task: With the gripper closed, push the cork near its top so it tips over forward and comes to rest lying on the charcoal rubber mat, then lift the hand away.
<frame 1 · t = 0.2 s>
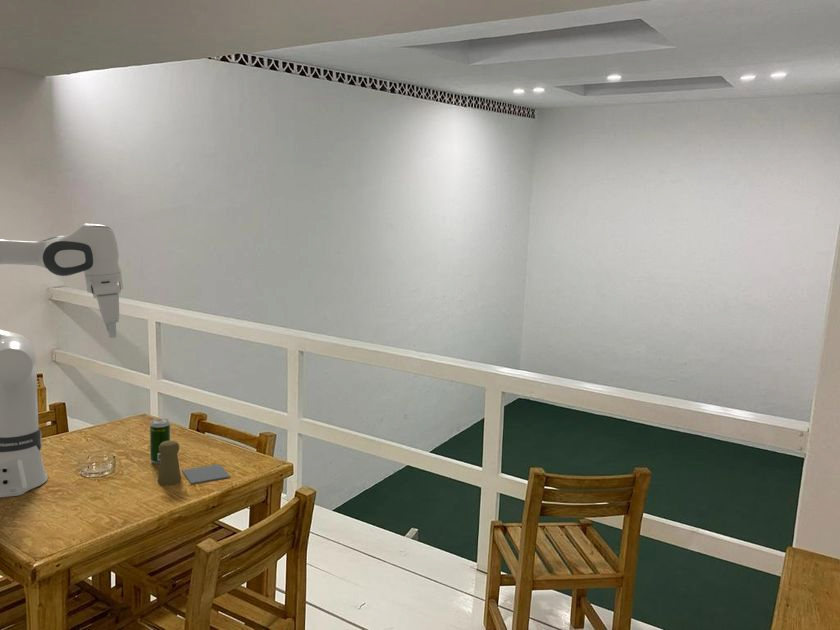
hand: (111, 334, 182), 38 cm above the table, tool pointing down, fingers open, 8 cm apart
beer can: (160, 461, 195), on the table
cork: (169, 481, 181), on the table
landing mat: (205, 474, 186), on the table
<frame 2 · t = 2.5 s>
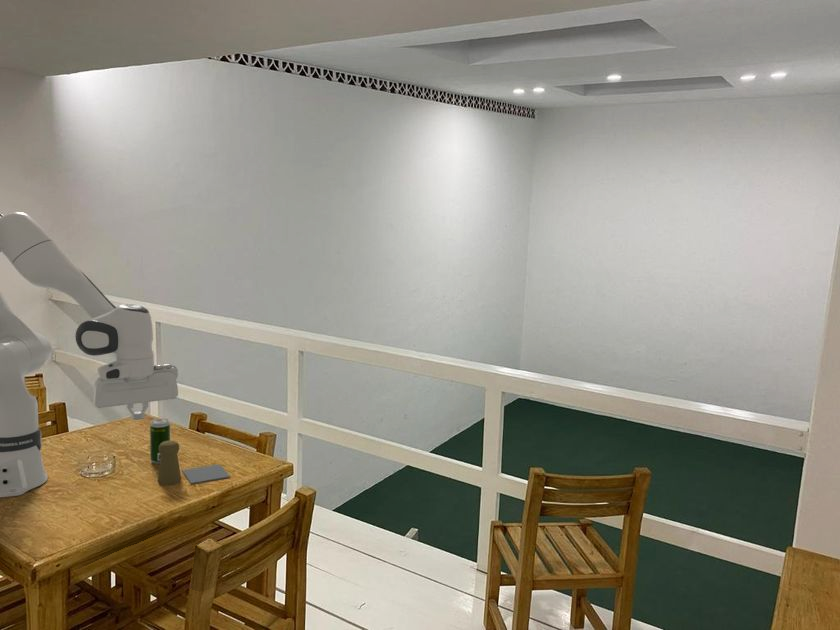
hand: (137, 419, 174), 18 cm above the table, tool pointing down, fingers closed
nothing on the table moved.
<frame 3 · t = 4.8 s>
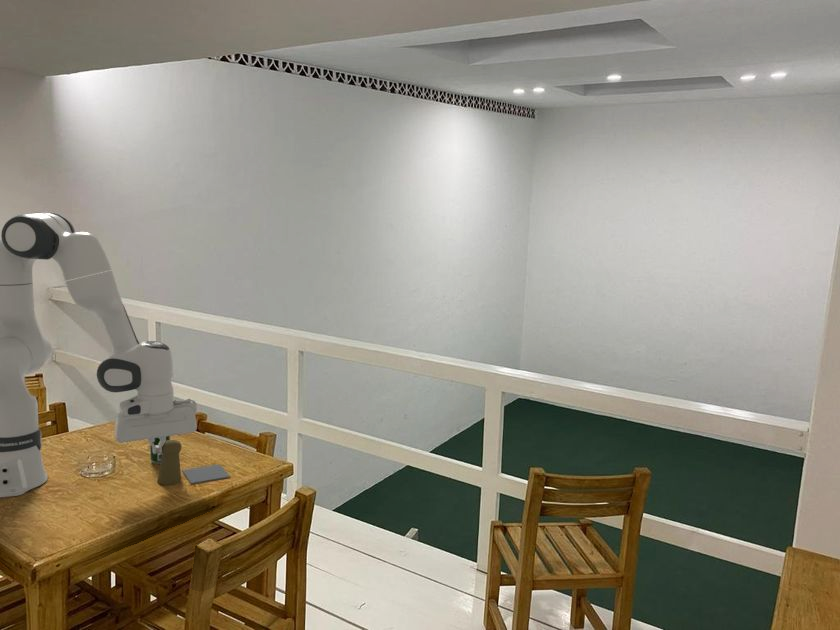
hand: (157, 452, 178), 8 cm above the table, tool pointing down, fingers closed
cork: (169, 481, 181), on the table, touching gripper
everything else where it was.
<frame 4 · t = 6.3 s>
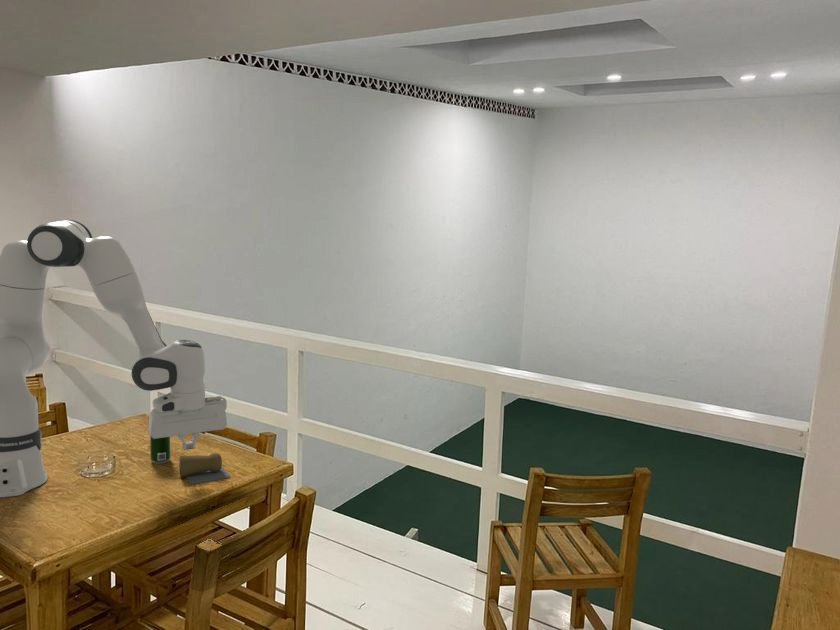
hand: (188, 448, 183), 8 cm above the table, tool pointing down, fingers closed
cork: (179, 466, 184), point 3 cm above the table, touching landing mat
everything else where it was.
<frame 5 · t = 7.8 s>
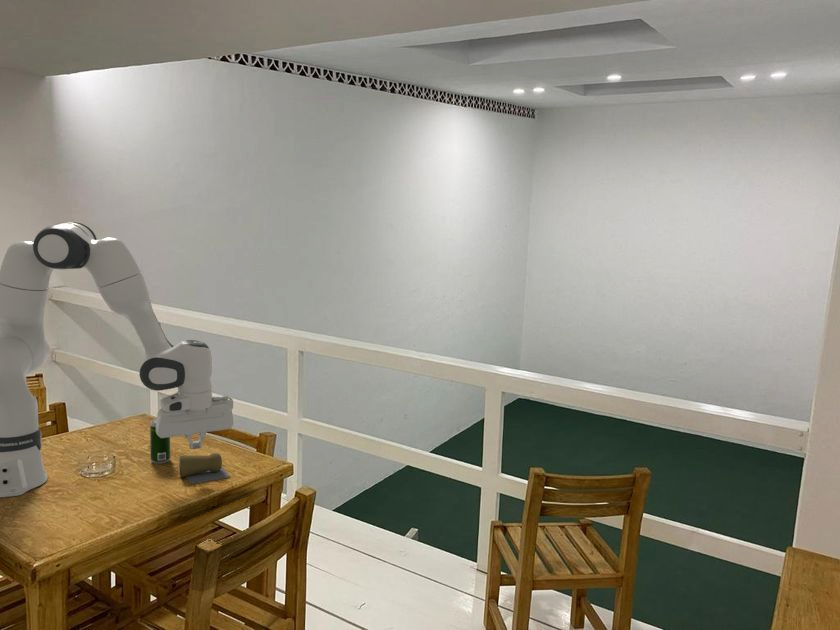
hand: (195, 448, 184), 8 cm above the table, tool pointing down, fingers closed
nothing on the table moved.
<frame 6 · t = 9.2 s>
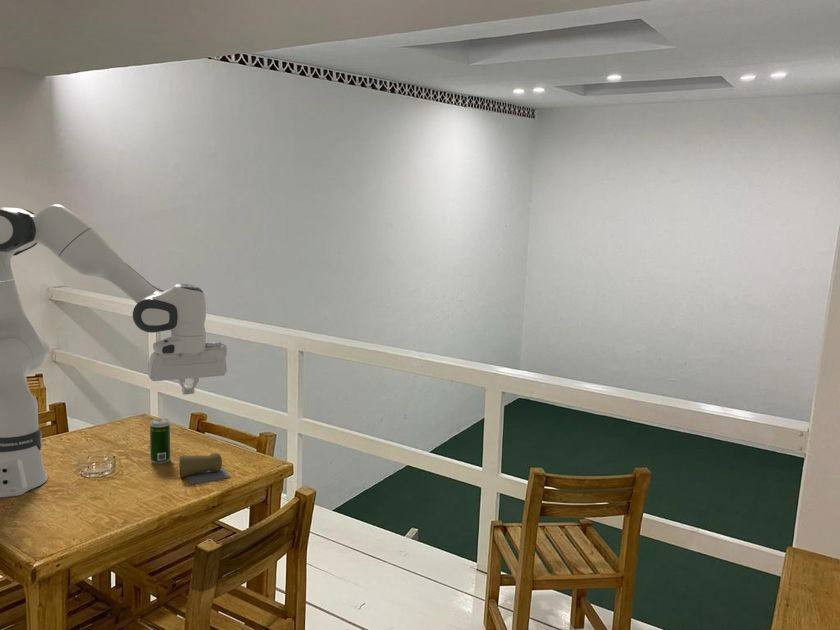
hand: (188, 393, 183), 23 cm above the table, tool pointing down, fingers closed
nothing on the table moved.
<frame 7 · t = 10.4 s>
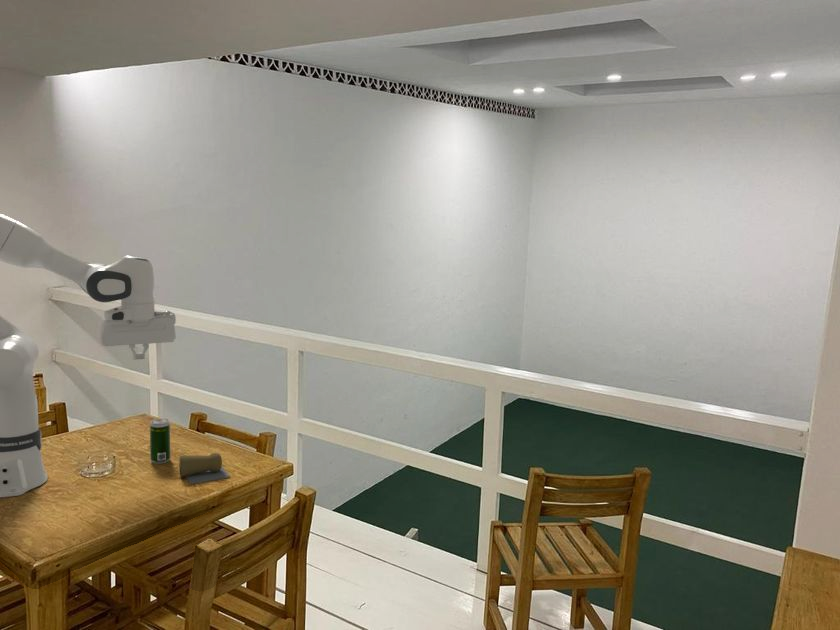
hand: (139, 358, 195), 29 cm above the table, tool pointing down, fingers closed
nothing on the table moved.
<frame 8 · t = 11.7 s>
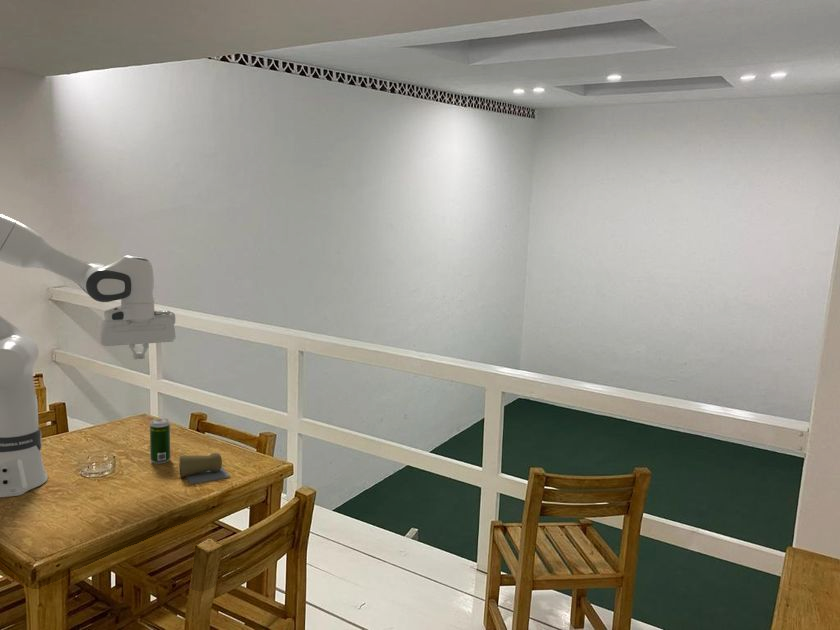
hand: (138, 358, 195), 29 cm above the table, tool pointing down, fingers closed
nothing on the table moved.
at the end: cork tilted 90°; cork inside the target area (3.8 cm from its centre), point 3.0 cm above the table; cork touching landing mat, table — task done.
